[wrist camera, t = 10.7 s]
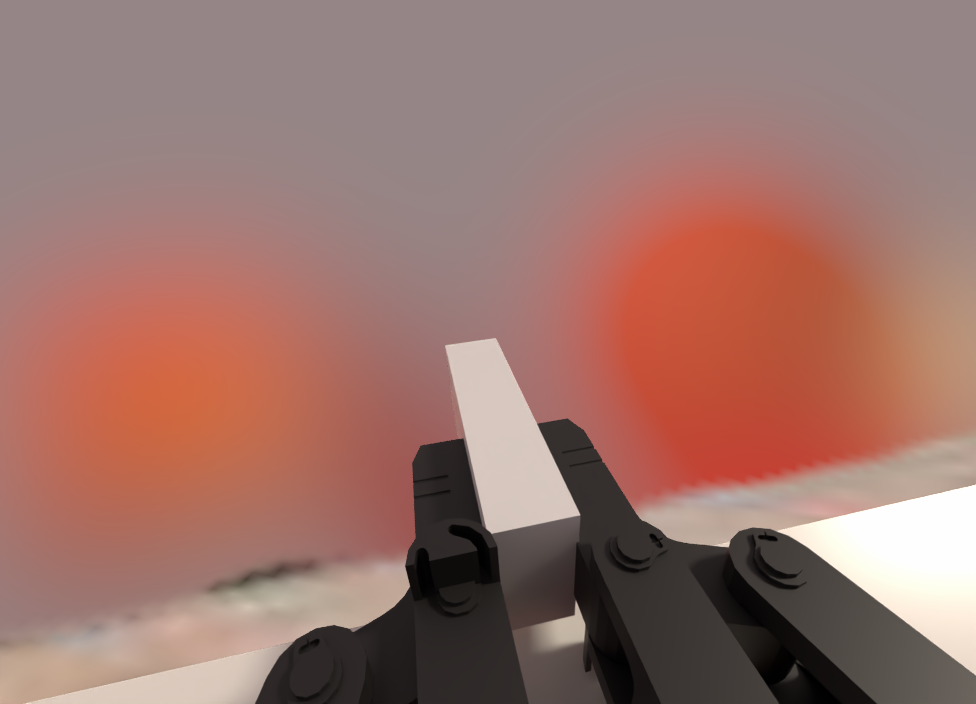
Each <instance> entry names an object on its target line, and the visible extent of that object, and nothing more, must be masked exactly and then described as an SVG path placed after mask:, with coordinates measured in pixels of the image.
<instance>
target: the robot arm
mask: <svg viewBox="0 0 976 704" xmlns="http://www.w3.org/2000/svg"><path fill="white" fill-rule="evenodd" d="M445 347H446V355H447V363H448V371H449V378H450V385H451V394H452V402H453V409H454V418H455V423H456V429H457V434H458V438H459V439H456V440H451V441H445V442H440V443H434V444H428V445H422V446H420V448H419V450H418V452H417V455H416V457H415V459H414V461H413V463H412V465H413V483H414V485H413V486H414V487H413V488H414V510H415V533H416V539H415V540H414V542H413V543H412V545H411V547H410V548H409V550H408V555H407V560H406V565H405V567H406V571H407V575H408V579H409V583H410V588H409V589H408V591H407V593H406V594H405V596H404V597H403V598H402V599H401V600H400V601H399V602H398V603H397V604H396V605H395V607H393V608H392V609H390V610H389V611H388V612H386V613H385V614H383V615H382V616H380V617H379V618H377V619H375V620H373V621H372V622H370V623H368V624H366V625H365V626H363V627H361V628H360V629H358V630H356V631H354V632H352V631H351V630H350V629H348V628H343V627H339V626H335V625H332V626H327V627H321V628H316V629H314V630H312V631H310V632H309V633H307V634H305V635H303V636H301V637H300V638H298V639H296V640H295V641H294V642H293V643H292V644H291V645H290V646H289V647H288V648H287V649H286V650H285V651H284V652H283V653H282V654H281V655H280V656H279V658H278V659H277V661H276V663H275V664H274V666H273V668H272V669H271V671H270V673H269V674H268V676H267V678H266V680H265V682H264V684H263V687H262V689H261V691H260V693H259V696H258V698H257V700H256V702H255V704H529V703H528V698H527V694H526V690H525V685H524V681H523V677H522V673H521V668H520V664H519V660H518V655H517V651H516V647H515V642H514V638H513V634H512V630H516V629H520V628H524V627H529V626H533V625H537V624H541V623H545V622H549V621H553V620H557V619H561V618H566V617H570V616H574V615H575V603H576V601H577V604H578V607H579V609H580V612H581V614H582V617H583V620H584V622H585V636H584V648H583V662H584V668H585V673H586V672H589V671H591V666H592V665H593V667H594V670H595V673H596V676H597V678H598V681H599V684H600V687H601V689H602V692H603V695H604V698H605V700H606V703H607V704H976V675H975V674H973V673H972V672H971V671H969V670H968V669H967V668H965V667H964V666H963V665H962V664H960V663H959V662H958V661H956V660H955V659H954V658H952V657H951V656H950V655H948V654H947V653H946V652H944V651H943V650H942V649H941V648H939V647H938V646H937V645H935V644H934V643H933V642H931V641H930V640H929V639H927V638H926V637H925V636H923V635H922V634H921V633H920V632H918V631H917V630H916V629H914V628H913V627H912V626H910V625H909V624H908V623H906V622H905V621H904V620H902V619H901V618H900V617H899V616H897V615H896V614H895V613H893V612H892V611H891V610H889V609H888V608H887V607H885V606H884V605H883V604H881V603H880V602H879V601H877V600H876V599H875V598H874V597H872V596H871V595H870V594H868V593H867V592H866V591H864V590H863V589H862V588H860V587H859V586H858V585H856V584H855V583H854V582H853V581H851V580H850V579H849V578H847V577H846V576H845V575H843V574H842V573H841V572H839V571H838V570H837V569H835V568H834V567H833V566H832V565H830V564H829V563H828V562H826V561H825V560H824V559H822V558H821V557H820V556H818V555H817V554H816V553H814V552H813V551H812V550H811V549H809V548H808V547H807V546H805V545H803V544H802V543H800V542H798V541H797V540H795V539H793V538H792V537H790V536H788V535H785V534H783V533H780V532H777V531H774V530H771V529H763V528H749V529H746V530H742V531H739V532H738V533H737V534H736V535H735V536H734V537H733V538H732V539H731V541H730V544H729V547H720V546H709V545H698V544H688V543H683V542H678V541H674V540H672V539H669V538H667V537H666V536H665V535H664V534H663V533H662V532H661V530H659V529H657V528H656V527H654V526H652V525H650V524H649V523H647V522H645V521H642V520H641V519H640V518H639V517H638V515H637V514H636V513H635V511H634V510H633V508H632V506H631V505H630V503H629V502H628V500H627V499H626V497H625V495H624V494H623V492H622V491H621V489H620V488H619V486H618V484H617V483H616V481H615V479H614V478H613V476H612V475H611V473H610V471H609V470H608V468H607V467H606V465H605V463H603V462H602V459H601V457H600V456H599V454H598V452H597V451H596V449H594V446H593V444H592V443H591V441H590V439H589V438H588V436H587V435H586V433H585V432H584V430H583V429H581V428H580V427H578V426H577V425H576V424H574V423H573V422H571V421H570V420H569V419H562V420H557V421H551V422H546V423H539V424H537V423H536V421H535V419H534V417H533V415H532V413H531V411H530V409H529V407H528V405H527V403H526V400H525V398H524V396H523V394H522V392H521V390H520V388H519V386H518V384H517V382H516V380H515V378H514V375H513V373H512V371H511V369H510V367H509V365H508V363H507V361H506V359H505V356H504V354H503V353H502V350H501V348H500V346H499V344H498V342H497V340H496V338H493V339H487V340H479V341H473V342H465V343H459V344H453V345H446V346H445Z"/></svg>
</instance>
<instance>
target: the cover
mask: <svg viewBox="0 0 976 704" xmlns="http://www.w3.org/2000/svg"><path fill="white" fill-rule="evenodd" d="M777 532H780V533H783V534H785V535H788V536H790V537H792V538H793V539H795V540H797V541H798V542H800V543H802V544H803V545H805V546H807V547H808V548H809V549H811V550H812V551H813V552H814V553H816V554H817V555H818V556H820V557H821V558H822V559H824V560H825V561H826V562H828V563H829V564H830V565H832V566H833V567H834V568H835V569H837V570H838V571H839V572H841V573H842V574H843V575H845V576H846V577H847V578H849V579H850V580H851V581H853V582H854V583H855V584H856V585H858V586H859V587H860V588H862V589H863V590H864V591H866V592H867V593H868V594H870V595H871V596H872V597H874V598H875V599H876V600H877V601H879V602H880V603H881V604H883V605H884V606H885V607H887V608H888V609H889V610H891V611H892V612H893V613H895V614H896V615H897V616H899V617H900V618H901V619H902V620H904V621H905V622H906V623H908V624H909V625H910V626H912V627H913V628H914V629H916V630H917V631H918V632H920V633H921V634H922V635H923V636H925V637H926V638H927V639H929V640H930V641H931V642H933V643H934V644H935V645H937V646H938V647H939V648H941V649H942V650H943V651H944V652H946V653H947V654H948V655H950V656H951V657H952V658H954V659H955V660H956V661H958V662H959V663H960V664H962V665H963V666H964V667H965V668H967V669H968V670H969V671H971V672H972V673H973V674H975V675H976V485H974V486H970V487H966V488H961V489H957V490H952V491H948V492H944V493H939V494H935V495H931V496H926V497H922V498H918V499H913V500H909V501H905V502H900V503H896V504H891V505H887V506H883V507H878V508H874V509H870V510H865V511H861V512H857V513H852V514H848V515H844V516H839V517H835V518H830V519H826V520H822V521H817V522H813V523H809V524H804V525H800V526H796V527H791V528H787V529H783V530H778V531H777ZM729 544H730V542H726V543H722V544H717V545H713V546H720V547H729ZM364 626H365V625H364ZM361 627H363V626H360V627H356V628H351V629H350V630H351V631H352V632H354V631H356V630H358V629H360V628H361ZM512 634H513V638H514V642H515V647H516V651H517V655H518V660H519V664H520V668H521V673H522V677H523V681H524V685H525V690H526V694H527V698H528V703H529V704H607V703H606V700H605V698H604V695H603V692H602V689H601V687H600V684H599V681H598V678H597V676H596V673H595V670H594V667H593V665H592V666H591V671H589V672H586V673H585V668H584V662H583V648H584V636H585V622H584V620H583V617H582V614H581V612H580V609H579V607H578V604H577V601H576V603H575V615H574V616H570V617H566V618H561V619H557V620H553V621H549V622H545V623H541V624H537V625H533V626H529V627H524V628H520V629H516V630H512ZM292 643H293V642H290V643H286V644H281V645H277V646H273V647H268V648H264V649H260V650H255V651H251V652H247V653H242V654H238V655H234V656H229V657H225V658H220V659H216V660H212V661H207V662H203V663H199V664H194V665H190V666H186V667H181V668H177V669H173V670H168V671H164V672H159V673H155V674H151V675H146V676H142V677H138V678H133V679H129V680H125V681H120V682H116V683H112V684H107V685H103V686H98V687H94V688H90V689H85V690H81V691H77V692H72V693H68V694H64V695H59V696H55V697H51V698H46V699H42V700H37V701H33V702H29V703H24V704H255V702H256V700H257V698H258V696H259V693H260V691H261V689H262V687H263V684H264V682H265V680H266V678H267V676H268V674H269V673H270V671H271V669H272V668H273V666H274V664H275V663H276V661H277V659H278V658H279V656H280V655H281V654H282V653H283V652H284V651H285V650H286V649H287V648H288V647H289V646H290V645H291V644H292Z"/></svg>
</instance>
